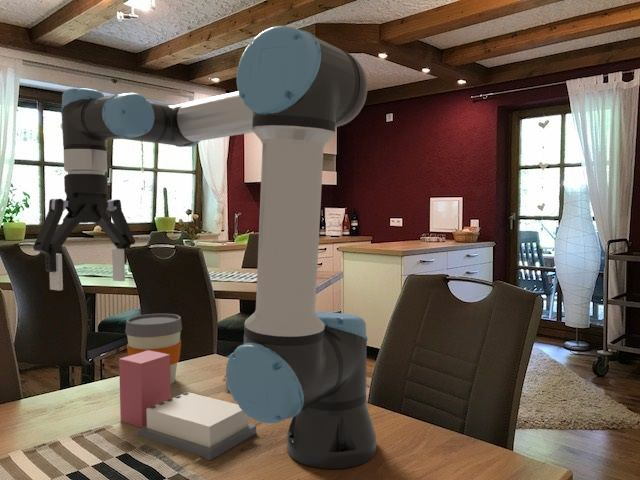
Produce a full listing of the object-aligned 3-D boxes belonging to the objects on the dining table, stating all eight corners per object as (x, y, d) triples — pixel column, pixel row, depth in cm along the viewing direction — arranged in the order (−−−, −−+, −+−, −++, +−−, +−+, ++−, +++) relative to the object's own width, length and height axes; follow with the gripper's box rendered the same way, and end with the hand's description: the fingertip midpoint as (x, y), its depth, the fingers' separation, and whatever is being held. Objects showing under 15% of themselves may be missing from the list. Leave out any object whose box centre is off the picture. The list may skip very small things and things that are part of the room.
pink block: (171, 415, 105) (169, 354, 104) (142, 427, 99) (140, 363, 98) (149, 409, 108) (148, 350, 107) (120, 421, 102) (119, 358, 101)
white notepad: (256, 433, 97) (256, 405, 97) (210, 460, 87) (209, 428, 86) (187, 414, 106) (187, 388, 106) (138, 436, 96) (138, 408, 95)
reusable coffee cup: (194, 380, 127) (193, 317, 126) (151, 395, 116) (149, 327, 115) (158, 371, 134) (157, 311, 133) (114, 385, 123) (113, 320, 122)
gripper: (126, 177, 115) (129, 276, 116) (8, 170, 93) (13, 292, 94) (151, 176, 111) (153, 278, 112) (33, 169, 89) (38, 295, 91)
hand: (89, 285), depth 103 cm, fingers open, 13 cm apart
